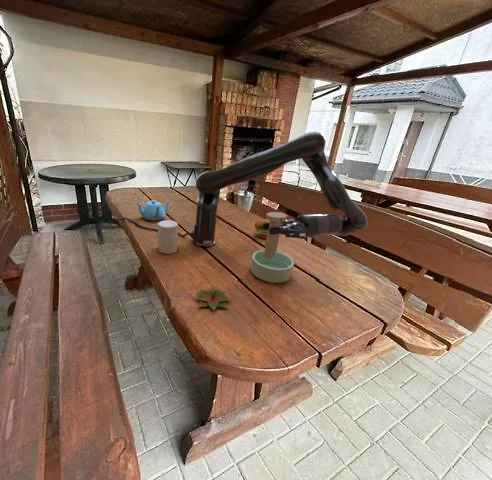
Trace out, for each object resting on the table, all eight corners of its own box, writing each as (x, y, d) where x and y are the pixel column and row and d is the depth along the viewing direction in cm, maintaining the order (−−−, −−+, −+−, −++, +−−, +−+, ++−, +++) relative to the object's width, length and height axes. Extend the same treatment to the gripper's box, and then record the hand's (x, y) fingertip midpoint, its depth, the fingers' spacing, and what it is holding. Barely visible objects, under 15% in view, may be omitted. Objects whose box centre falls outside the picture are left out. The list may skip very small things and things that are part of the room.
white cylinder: (162, 254, 110) (161, 228, 105) (156, 246, 116) (155, 221, 111) (180, 251, 113) (180, 226, 108) (173, 244, 120) (173, 219, 115)
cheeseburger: (267, 241, 130) (266, 221, 127) (250, 239, 138) (249, 220, 135) (279, 236, 136) (278, 217, 133) (262, 234, 144) (261, 216, 141)
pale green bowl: (249, 280, 96) (251, 265, 94) (250, 260, 110) (252, 247, 108) (292, 286, 94) (296, 272, 92) (288, 266, 108) (291, 253, 106)
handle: (281, 259, 87) (290, 216, 81) (265, 261, 84) (272, 218, 78) (273, 252, 91) (280, 211, 85) (257, 255, 88) (263, 212, 82)
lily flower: (229, 290, 90) (230, 278, 88) (233, 313, 79) (234, 301, 77) (194, 288, 89) (194, 277, 87) (193, 311, 78) (193, 299, 76)
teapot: (150, 212, 159) (149, 195, 154) (172, 216, 154) (172, 199, 150) (135, 219, 146) (135, 201, 142) (159, 224, 141) (159, 206, 137)
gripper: (301, 208, 92) (257, 210, 87) (329, 222, 80) (280, 225, 75) (297, 228, 95) (254, 231, 90) (323, 244, 83) (276, 249, 78)
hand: (266, 228), depth 82 cm, fingers closed on handle, 3 cm apart
